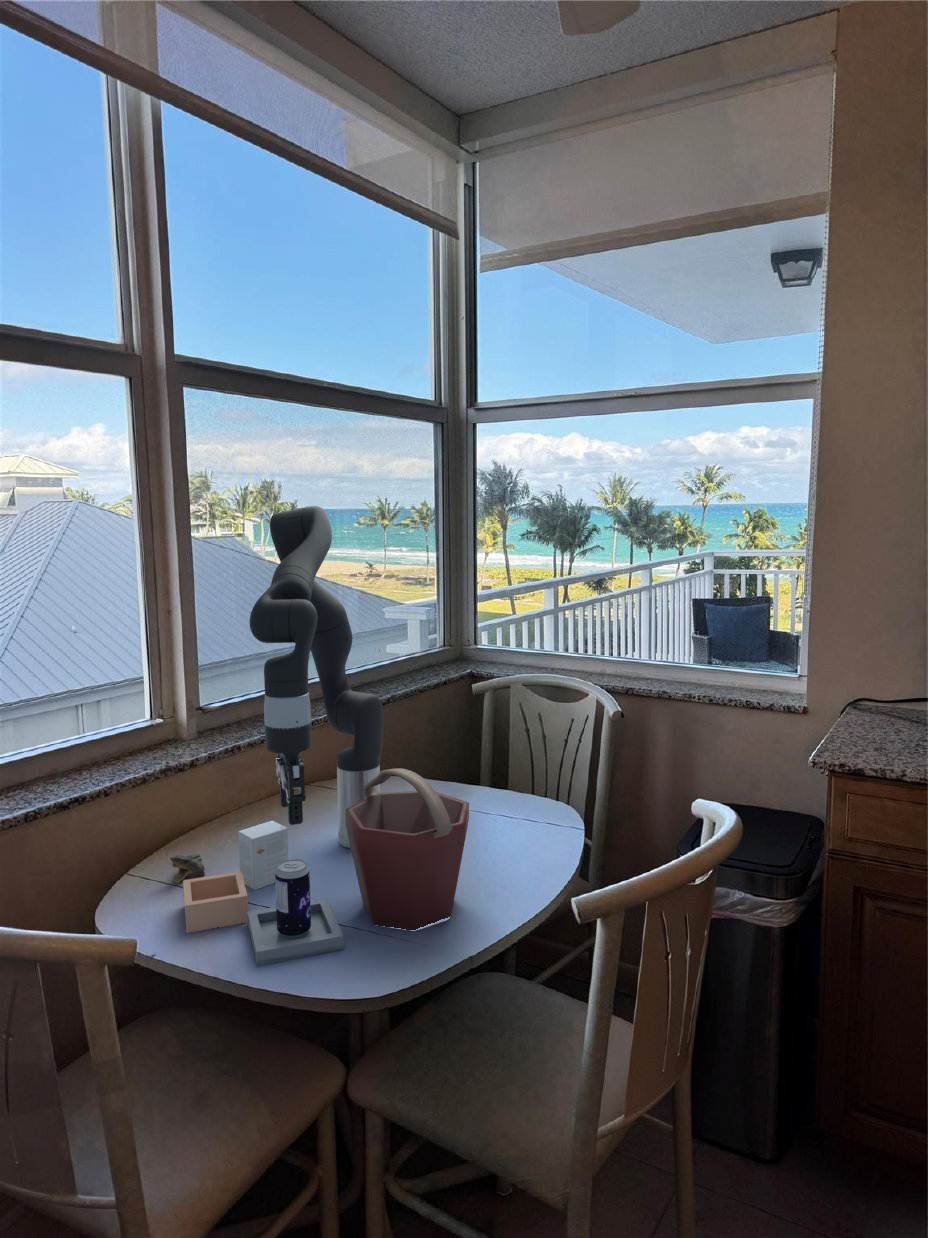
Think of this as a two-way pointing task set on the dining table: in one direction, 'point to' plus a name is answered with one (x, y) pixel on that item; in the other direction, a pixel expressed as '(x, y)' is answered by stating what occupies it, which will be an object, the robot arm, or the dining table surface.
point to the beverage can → (293, 898)
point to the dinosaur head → (187, 866)
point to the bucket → (407, 851)
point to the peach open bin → (215, 901)
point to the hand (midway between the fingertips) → (291, 814)
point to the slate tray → (280, 948)
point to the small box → (262, 853)
